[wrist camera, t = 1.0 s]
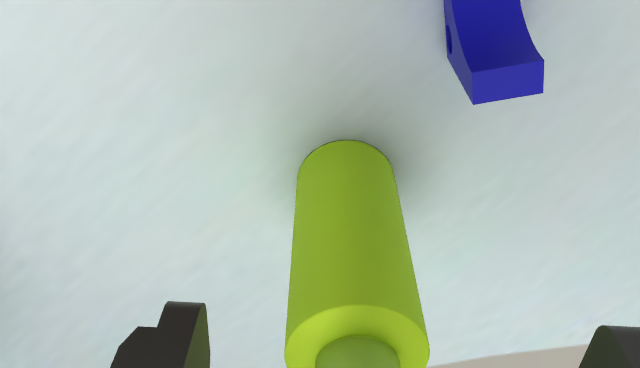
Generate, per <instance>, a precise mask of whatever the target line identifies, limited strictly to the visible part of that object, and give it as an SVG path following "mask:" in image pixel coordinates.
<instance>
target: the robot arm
mask: <svg viewBox="0 0 640 368" xmlns="http://www.w3.org/2000/svg"><path fill="white" fill-rule="evenodd" d="M110 368H210V346H209V335H208V323H207V312H206V305H205V303H192V302H173V301H168V302H167V303H166V305H165V306H164V309H163V312H162V314H161V317H160V320H159V323H158V326H157V327H137V328H136V329H135V330H134V331H133V332H132V333H131V334H130V336H129V337H128V338H127V339H126V340H125V341H124V342H123V343H122V344H121V345H120V346H119V348H118V350H117V353H116V355H115V357H114V360H113V362H112V364H111V367H110ZM579 368H640V327H624V326H605V325H602V326H600V327H598V328H597V330H596V331H595V333H594V336H593V338H592V340H591V342H590V344H589V347H588V349H587V351H586V353H585V355H584V357H583V360H582V362H581V364H580V366H579Z"/></svg>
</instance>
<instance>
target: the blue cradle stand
mask: <svg viewBox="0 0 640 368" xmlns="http://www.w3.org/2000/svg"><path fill="white" fill-rule="evenodd" d="M444 13H445V28H446V43H447V58H448V60H449V62H450V64H451V65H452V67H453V69H454V71H455V73H456V75H457V76H458V78H459V80H460V82H461V84H462V86H463V87H464V89H465V91H466V93H467V95H468V96H469V98H470V100H471V102H472V104H473V105H475V104H480V103H486V102H492V101H498V100H504V99H510V98H516V97H522V96H528V95H534V94H540V93H543V81H544V59H543V58H542V57H541V56H540V54H539V53H538V51H537V50H536V48H535V46H534V44H533V42H532V40H531V37H530V35H529V32H528V30H527V27H526V24H525V20H524V17H523V13H522V9H521V5H520V0H444Z"/></svg>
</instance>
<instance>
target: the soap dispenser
mask: <svg viewBox="0 0 640 368" xmlns="http://www.w3.org/2000/svg"><path fill="white" fill-rule="evenodd" d="M429 353H430V349H429V342H428V337H427V333H426V328H425V323H424V318H423V313H422V308H421V303H420V298H419V294H418V289H417V284H416V279H415V274H414V269H413V264H412V260H411V255H410V250H409V245H408V240H407V235H406V230H405V225H404V221H403V216H402V211H401V206H400V201H399V196H398V191H397V186H396V182H395V177H394V172H393V169H392V166H391V164H390V162H389V161H388V159H387V158H386V157H385V156H384V155H383V154H382V153H381V152H380V151H379V150H377V149H376V148H374V147H372V146H370V145H368V144H366V143H363V142H359V141H352V140H342V141H335V142H331V143H328V144H325V145H323V146H321V147H319V148H317V149H316V150H314V151H313V152H312V153H311V154H310V155H309V156H308V157H307V158H306V159H305V160H304V162H303V163H302V165H301V167H300V169H299V172H298V177H297V188H296V202H295V215H294V229H293V243H292V256H291V270H290V284H289V297H288V311H287V325H286V338H285V362H286V365H287V368H426V366H427V363H428V360H429Z"/></svg>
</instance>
